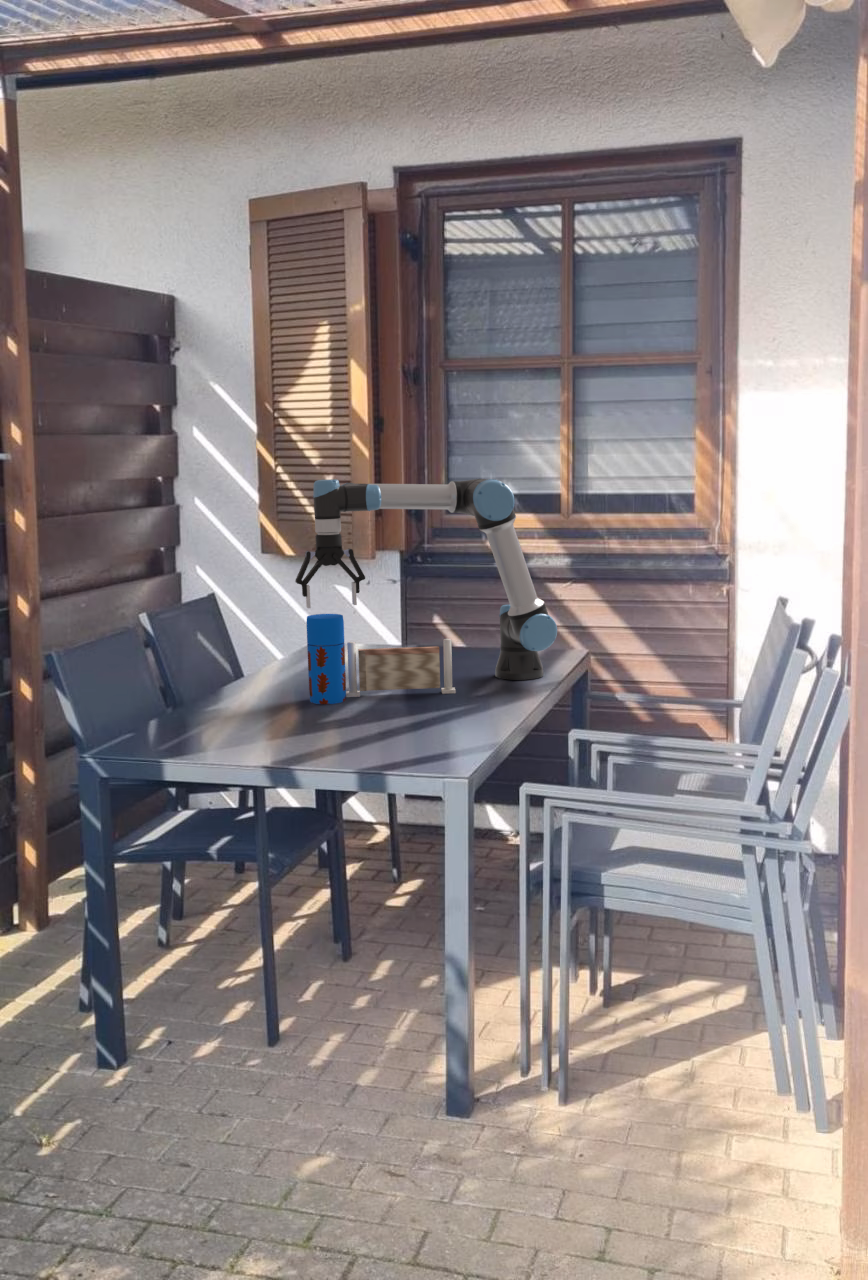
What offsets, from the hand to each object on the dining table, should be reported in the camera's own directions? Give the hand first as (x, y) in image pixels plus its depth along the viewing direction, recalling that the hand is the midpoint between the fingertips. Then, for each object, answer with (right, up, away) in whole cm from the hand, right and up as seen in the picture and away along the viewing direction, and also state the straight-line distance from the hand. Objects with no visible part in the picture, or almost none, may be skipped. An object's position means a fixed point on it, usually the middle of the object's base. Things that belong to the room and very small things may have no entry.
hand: (331, 606), depth 402 cm
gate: (+20, -24, +10) cm, 33 cm away
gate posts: (+20, -26, +10) cm, 34 cm away
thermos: (-1, -28, +3) cm, 28 cm away
